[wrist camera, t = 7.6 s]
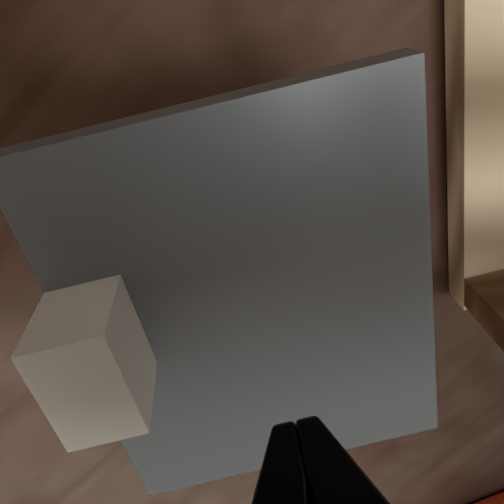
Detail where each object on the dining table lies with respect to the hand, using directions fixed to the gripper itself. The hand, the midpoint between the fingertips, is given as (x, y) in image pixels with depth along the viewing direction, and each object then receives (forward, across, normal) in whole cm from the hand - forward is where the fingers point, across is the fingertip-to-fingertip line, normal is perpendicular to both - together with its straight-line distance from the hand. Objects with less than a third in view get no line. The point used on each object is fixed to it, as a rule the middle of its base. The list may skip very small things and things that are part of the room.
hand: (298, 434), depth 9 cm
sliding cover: (+7, +1, +1) cm, 7 cm away
